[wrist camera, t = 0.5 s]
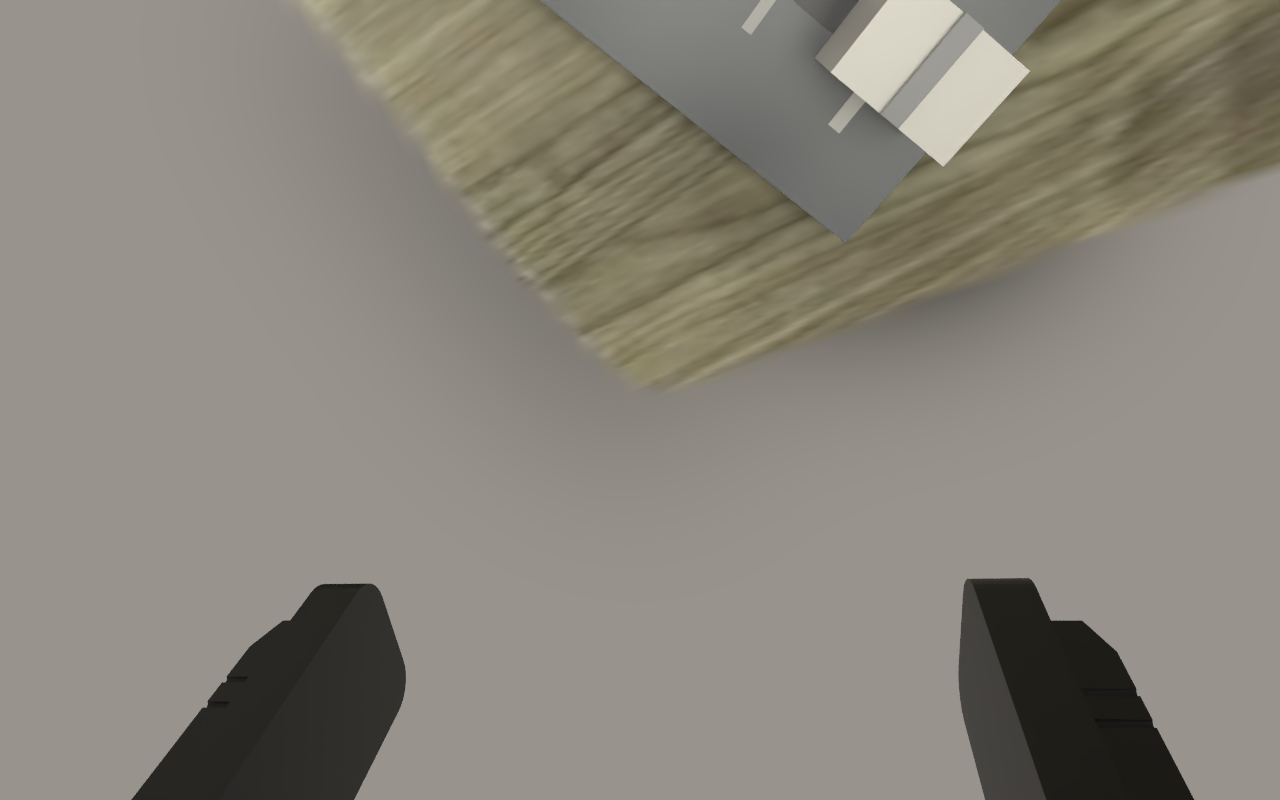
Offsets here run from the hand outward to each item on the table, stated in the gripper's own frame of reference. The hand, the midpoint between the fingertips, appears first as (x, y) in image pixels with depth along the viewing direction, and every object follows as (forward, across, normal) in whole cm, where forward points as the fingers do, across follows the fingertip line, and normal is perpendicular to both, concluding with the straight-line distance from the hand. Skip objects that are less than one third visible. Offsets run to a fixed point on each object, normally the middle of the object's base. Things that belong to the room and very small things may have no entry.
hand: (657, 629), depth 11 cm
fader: (+21, -6, -5) cm, 22 cm away
